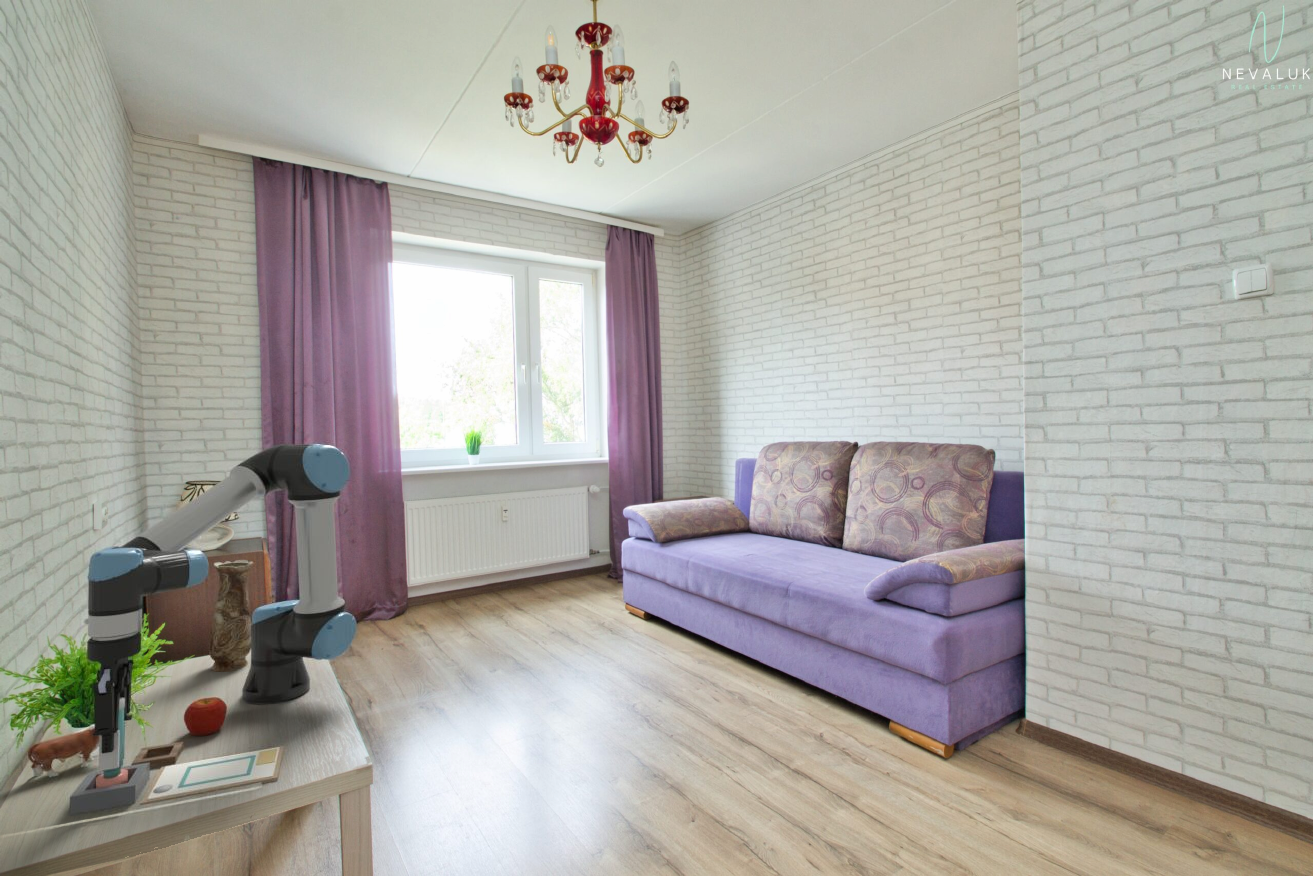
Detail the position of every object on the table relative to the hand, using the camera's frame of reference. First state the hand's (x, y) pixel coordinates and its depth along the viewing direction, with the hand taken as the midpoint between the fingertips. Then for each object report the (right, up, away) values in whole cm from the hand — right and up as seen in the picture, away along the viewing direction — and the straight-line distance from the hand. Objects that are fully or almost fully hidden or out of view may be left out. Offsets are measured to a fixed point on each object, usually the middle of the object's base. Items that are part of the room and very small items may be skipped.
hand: (112, 763), depth 116 cm
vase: (-24, -7, +68) cm, 73 cm away
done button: (0, -5, 0) cm, 5 cm away
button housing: (0, -6, 0) cm, 6 cm away
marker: (0, -2, 0) cm, 2 cm away
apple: (-2, -7, +26) cm, 27 cm away
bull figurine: (-16, -6, +10) cm, 20 cm away
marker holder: (-2, -6, +13) cm, 15 cm away
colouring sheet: (+14, -6, +8) cm, 17 cm away
